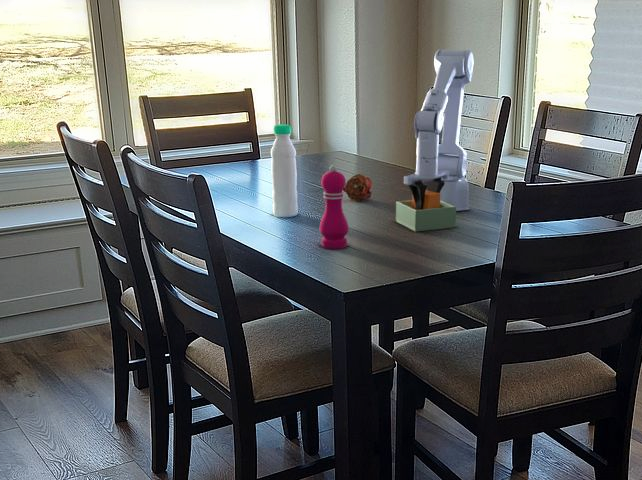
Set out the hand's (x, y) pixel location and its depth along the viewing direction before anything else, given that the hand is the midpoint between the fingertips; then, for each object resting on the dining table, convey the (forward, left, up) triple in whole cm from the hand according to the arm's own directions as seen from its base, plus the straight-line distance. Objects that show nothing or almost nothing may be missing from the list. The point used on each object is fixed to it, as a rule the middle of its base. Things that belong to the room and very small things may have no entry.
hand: (425, 207), depth 232 cm
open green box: (0, 0, -5) cm, 5 cm away
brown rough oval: (+5, -36, -5) cm, 37 cm away
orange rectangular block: (0, 0, -2) cm, 2 cm away
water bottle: (+32, -25, -5) cm, 41 cm away
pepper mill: (+31, +11, -5) cm, 33 cm away
